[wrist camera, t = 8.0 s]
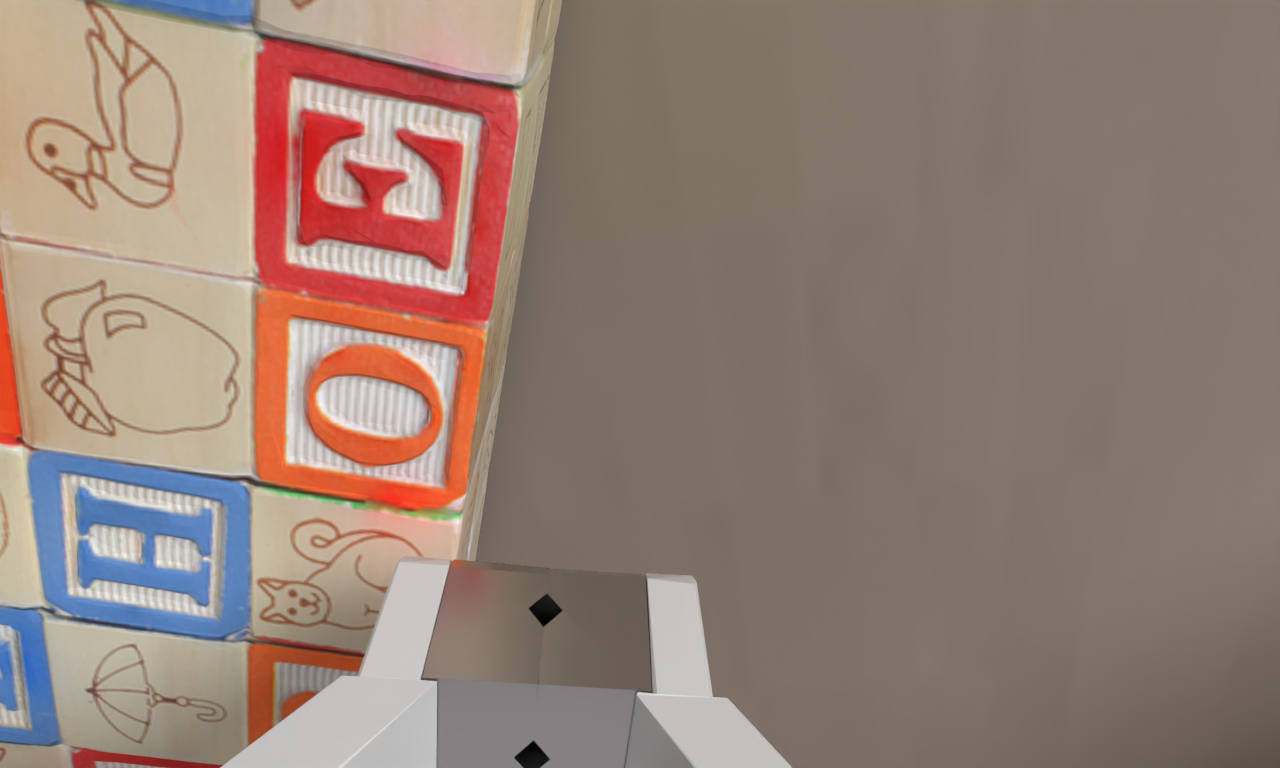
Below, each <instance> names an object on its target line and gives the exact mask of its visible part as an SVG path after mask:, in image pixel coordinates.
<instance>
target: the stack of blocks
mask: <svg viewBox="0 0 1280 768" xmlns="http://www.w3.org/2000/svg"><path fill="white" fill-rule="evenodd" d="M561 4H562V0H0V768H220V767H222V766H223V765H224V764H226V763H227V762H228V761H229V760H231V759H232V758H233V757H235V756H236V755H237V754H239V753H240V752H241V751H243V750H244V749H245V748H247V747H248V746H249V745H250V744H252V743H253V742H254V741H256V740H257V739H258V738H260V737H261V736H262V735H264V734H265V733H266V732H268V731H269V730H270V729H272V728H273V727H274V726H275V725H277V724H278V723H279V722H281V721H282V720H283V719H285V718H286V717H287V716H289V715H290V714H291V713H293V712H294V711H295V710H296V709H298V708H299V707H300V706H302V705H303V704H304V703H306V702H307V701H308V700H310V699H311V698H312V697H314V696H315V695H316V694H318V693H319V692H320V691H321V690H323V689H324V688H325V687H327V686H328V685H329V684H331V683H332V682H333V681H335V680H336V679H337V678H339V677H340V676H357V675H358V672H359V669H360V666H361V664H362V661H363V658H364V655H365V652H366V649H367V646H368V644H369V641H370V638H371V635H372V632H373V629H374V626H375V623H376V621H377V618H378V615H379V612H380V609H381V606H382V603H383V600H384V598H385V595H386V592H387V589H388V586H389V583H390V580H391V577H392V575H393V572H394V569H395V566H396V564H397V563H398V562H399V560H400V559H401V558H402V557H403V556H414V557H426V558H437V559H449V560H451V561H453V560H454V559H456V560H467V561H475V558H476V552H477V545H478V539H479V532H480V526H481V519H482V513H483V506H484V499H485V492H486V484H487V476H488V468H489V463H490V459H491V452H492V446H493V440H494V434H495V427H496V421H497V414H498V407H499V401H500V394H501V388H502V381H503V375H504V368H505V361H506V354H507V347H508V342H509V336H510V330H511V324H512V319H513V313H514V307H515V300H516V293H517V287H518V280H519V274H520V267H521V261H522V254H523V248H524V242H525V236H526V229H527V223H528V217H529V204H530V200H531V195H532V190H533V183H534V176H535V170H536V163H537V157H538V151H539V145H540V139H541V133H542V126H543V120H544V113H545V106H546V100H547V93H548V86H549V79H550V73H551V66H552V59H553V53H554V39H555V35H556V31H557V27H558V23H559V17H560V10H561Z"/></svg>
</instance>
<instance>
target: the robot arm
mask: <svg viewBox="0 0 1280 768" xmlns="http://www.w3.org/2000/svg"><path fill="white" fill-rule="evenodd" d="M220 768H792V767H791V766H790V765H789V764H788V763H787V761H786V760H785V759H784V758H783V757H782V756H781V755H780V754H779V753H778V752H777V751H776V750H775V749H774V747H773V746H772V745H771V744H770V743H769V742H768V741H767V740H766V739H765V738H764V737H763V736H762V734H761V733H760V732H759V731H758V730H757V729H756V728H755V727H754V726H753V725H752V724H751V723H750V722H749V720H748V719H747V718H746V717H745V716H744V715H743V714H742V713H741V712H740V711H739V710H738V709H737V708H736V706H735V705H734V704H733V703H732V702H731V701H730V700H729V699H728V698H718V697H713V694H712V687H711V680H710V673H709V666H708V659H707V652H706V645H705V638H704V631H703V624H702V617H701V610H700V603H699V596H698V589H697V582H696V581H695V579H694V578H693V576H691V575H670V574H649V573H645V575H643V574H629V573H613V572H597V571H582V570H566V569H550V568H542V567H532V566H521V565H510V564H499V563H488V562H478V561H467V560H456V559H454V560H453V561H451V560H449V559H437V558H426V557H414V556H403V557H402V558H401V559H400V560H399V562H398V563H397V564H396V566H395V569H394V572H393V575H392V577H391V580H390V583H389V586H388V589H387V592H386V595H385V598H384V600H383V603H382V606H381V609H380V612H379V615H378V618H377V621H376V623H375V626H374V629H373V632H372V635H371V638H370V641H369V644H368V646H367V649H366V652H365V655H364V658H363V661H362V664H361V666H360V669H359V672H358V675H357V676H340V677H339V678H337V679H336V680H335V681H333V682H332V683H331V684H329V685H328V686H327V687H325V688H324V689H323V690H321V691H320V692H319V693H318V694H316V695H315V696H314V697H312V698H311V699H310V700H308V701H307V702H306V703H304V704H303V705H302V706H300V707H299V708H298V709H296V710H295V711H294V712H293V713H291V714H290V715H289V716H287V717H286V718H285V719H283V720H282V721H281V722H279V723H278V724H277V725H275V726H274V727H273V728H272V729H270V730H269V731H268V732H266V733H265V734H264V735H262V736H261V737H260V738H258V739H257V740H256V741H254V742H253V743H252V744H250V745H249V746H248V747H247V748H245V749H244V750H243V751H241V752H240V753H239V754H237V755H236V756H235V757H233V758H232V759H231V760H229V761H228V762H227V763H226V764H224V765H223V766H222V767H220Z"/></svg>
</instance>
